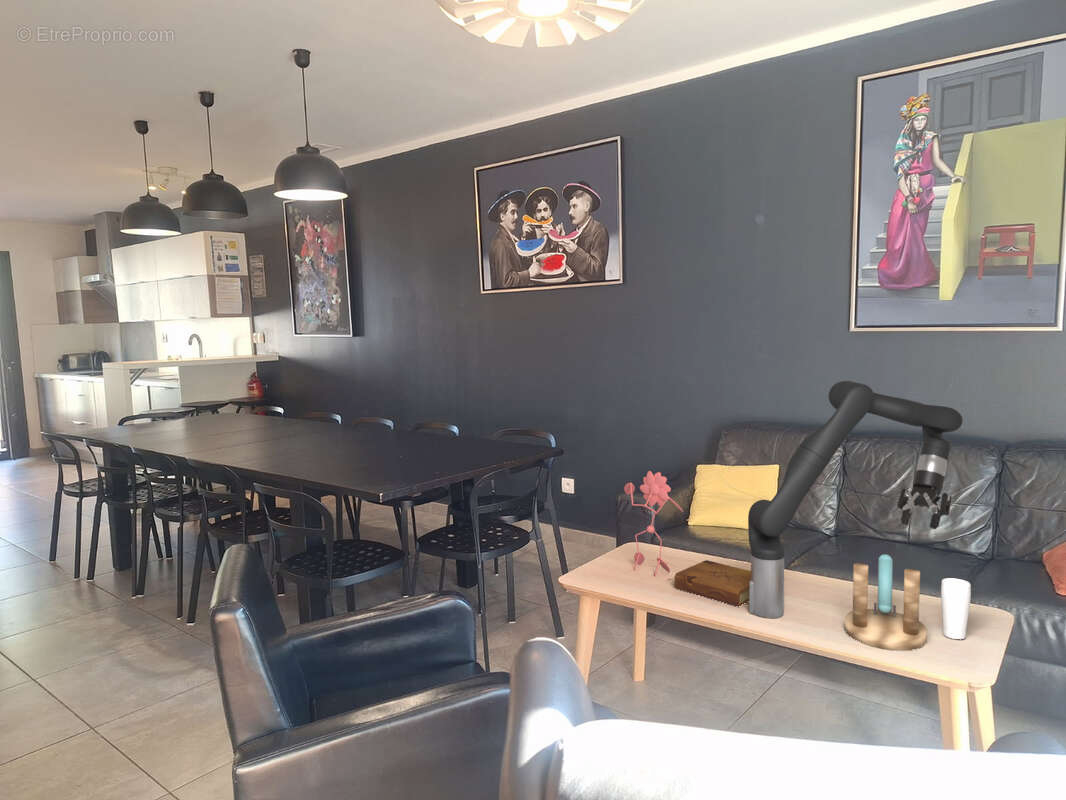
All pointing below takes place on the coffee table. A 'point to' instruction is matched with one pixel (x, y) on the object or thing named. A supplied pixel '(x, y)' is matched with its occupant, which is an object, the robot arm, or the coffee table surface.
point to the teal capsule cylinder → (885, 583)
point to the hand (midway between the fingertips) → (918, 526)
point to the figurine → (653, 493)
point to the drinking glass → (955, 607)
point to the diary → (716, 582)
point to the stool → (886, 615)
